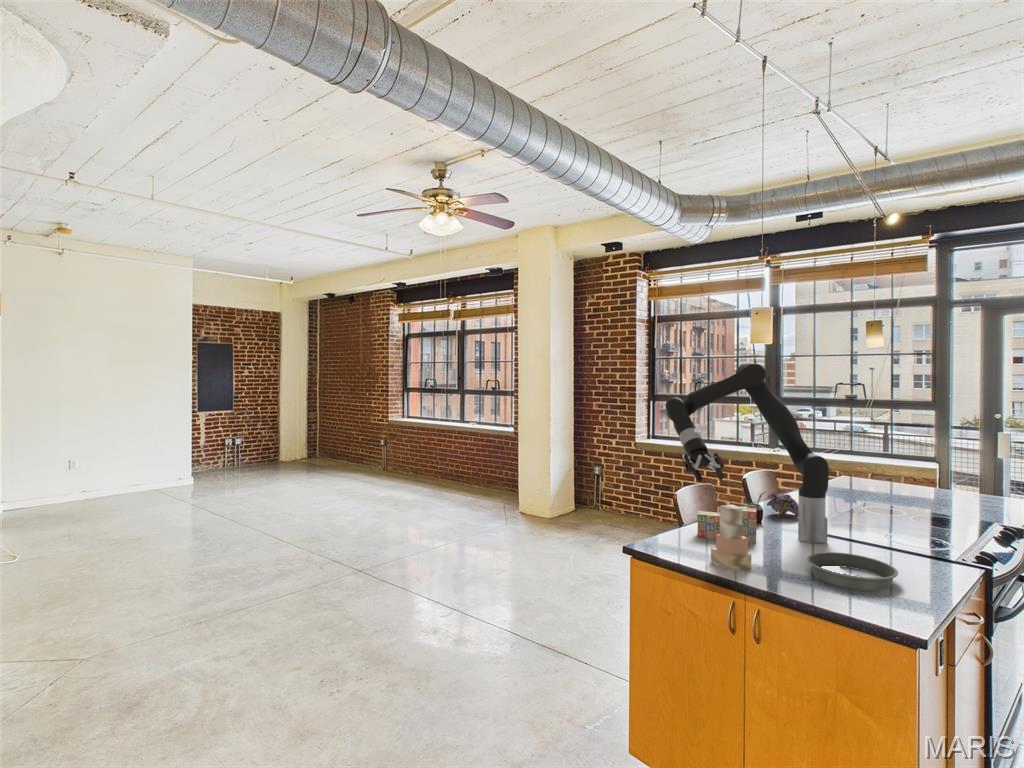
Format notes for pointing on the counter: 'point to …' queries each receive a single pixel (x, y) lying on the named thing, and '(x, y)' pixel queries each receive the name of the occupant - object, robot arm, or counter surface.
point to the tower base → (731, 560)
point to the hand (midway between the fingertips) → (711, 479)
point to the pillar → (731, 521)
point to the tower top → (732, 545)
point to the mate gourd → (757, 510)
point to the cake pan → (855, 562)
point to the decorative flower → (783, 504)
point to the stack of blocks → (711, 524)
